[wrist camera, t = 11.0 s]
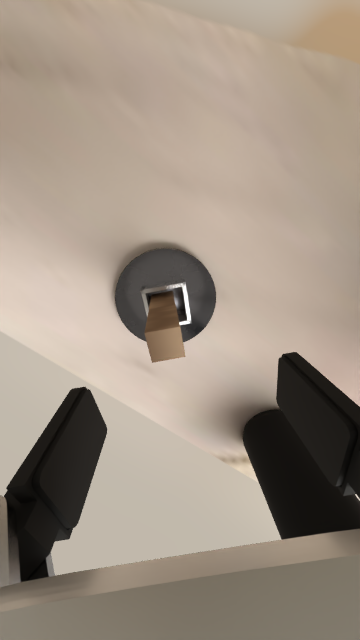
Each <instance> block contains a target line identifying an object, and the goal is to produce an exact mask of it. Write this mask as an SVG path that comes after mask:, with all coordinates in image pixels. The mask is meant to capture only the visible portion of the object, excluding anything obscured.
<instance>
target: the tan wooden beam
mask: <svg viewBox="0 0 360 640" xmlns="http://www.w3.org/2000/svg"><path fill="white" fill-rule="evenodd" d="M145 337H146V341H147V345H148V349H149V353H150V356H151V360H152V363H153V362H158V361H164V360H169V359H175V358H180V357H185V351H184V346H183V340H182V334H181V328H180V323H179V319H178V314H177V309H176V304H175V300H174V295H173V291H168V292H162V293H157V294H152V295H151V300H150V306H149V311H148V316H147V322H146V327H145Z"/></svg>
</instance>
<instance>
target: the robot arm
mask: <svg viewBox="0 0 360 640" xmlns="http://www.w3.org/2000/svg"><path fill="white" fill-rule="evenodd" d="M276 399H277V404H278V406H279V407H280V409H281V410H282V412H283V413H284V415H285V416H286V418H287V419H288V421H289V422H290V424H291V425H292V427H293V428H294V430H295V431H296V433H297V434H298V436H299V437H300V439H301V440H302V442H303V443H304V445H305V446H306V448H307V449H308V451H309V452H310V454H311V455H312V457H313V458H314V460H315V461H316V463H317V464H318V466H319V467H320V469H321V470H322V472H323V473H324V475H325V476H326V478H327V479H328V481H329V482H330V483H331V484H332V485H333V486H337V488H338V489H339V491H340V492H341V494H342V495H343V496H346V495H352V494H357V495H358V497H359V498H360V407H359V406H358V405H357V404H356V403H354V402H353V401H352V400H351V399H350V398H349V397H348V396H346V395H345V394H344V393H343V392H342V391H341V390H339V389H338V388H337V387H336V386H335V385H334V384H333V383H331V382H330V381H329V380H328V379H327V378H326V377H325V376H323V375H322V374H321V373H320V372H319V371H318V370H316V369H315V368H314V367H313V366H312V365H311V364H310V363H308V362H307V361H306V360H305V359H304V358H303V357H301V356H300V355H299V354H298V353H296V352H292V353H286V354H283V355H282V357H281V358H279V362H278V380H277V397H276ZM106 434H107V427H106V424H105V422H104V420H103V418H102V415H101V413H100V411H99V409H98V407H97V404H96V403H95V400H94V398H93V395H92V393H91V391H90V390H89V389H88V390H87V388H86V387H81V388H74V389H72V390H71V391H70V392H69V393H68V395H67V397H66V398H65V399H64V401H63V402H62V404H61V406H60V407H59V409H58V410H57V412H56V413H55V415H54V416H53V418H52V419H51V421H50V422H49V424H48V425H47V427H46V428H45V430H44V431H43V433H42V434H41V436H40V437H39V439H38V440H37V442H36V443H35V445H34V447H33V448H32V450H31V451H30V453H29V454H28V456H27V457H26V459H25V460H24V462H23V464H22V465H21V466H20V468H19V469H18V471H17V472H16V474H15V475H14V477H13V479H12V480H11V482H10V484H9V485H8V486H7V490H8V491H7V492H6V494H5V495H4V497H3V496H0V640H360V529H354V530H346V531H338V532H330V533H323V534H317V535H310V536H303V537H297V538H290V539H283V540H277V541H271V542H263V543H256V544H250V545H243V546H237V547H231V548H224V549H218V550H212V551H205V552H198V553H192V554H185V555H179V556H173V557H167V558H160V559H154V560H148V561H141V562H136V563H129V564H124V565H116V566H111V567H104V568H98V569H92V570H86V571H79V572H73V573H68V574H62V575H57V576H55V574H54V569H53V563H52V558H51V549H52V547H53V544H54V542H55V541H60V540H66V539H69V538H70V535H71V533H72V530H73V528H74V527H75V526H76V525H77V524H78V521H79V519H80V516H81V512H82V509H83V506H84V503H85V500H86V497H87V493H88V491H89V487H90V484H91V481H92V478H93V475H94V472H95V469H96V466H97V462H98V459H99V456H100V453H101V450H102V447H103V444H104V440H105V438H106Z"/></svg>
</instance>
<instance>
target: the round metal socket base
mask: <svg viewBox="0 0 360 640" xmlns="http://www.w3.org/2000/svg"><path fill="white" fill-rule="evenodd" d="M168 291H173V295H174V300H175V304H176V309H177V314H178V319H179V323H180V328H181V334H182V340H183V342H185V341H188V340H190V339H192V338H193V337H195V336H196V335H197V334H199V333H200V332H201V331H202V330H203V329H204V328H205V327H206V325H207V324H208V322H209V321H210V319H211V317H212V315H213V312H214V308H215V303H216V291H215V286H214V282H213V280H212V277H211V275H210V273H209V272H208V270H207V269H206V268H205V266H204V265H203V264H202V263H201V262H200V261H198V260H197V259H196V258H194V257H193V256H191V255H190V254H187V253H185V252H183V251H180V250H177V249H171V248H161V249H154V250H150V251H148V252H145V253H143V254H141V255H140V256H138V257H136V258H135V259H134V260H133V261H131V262H130V263H129V264H128V265H127V267H126V268H125V269H124V271H123V272H122V274H121V276H120V278H119V280H118V283H117V286H116V292H115V301H116V307H117V311H118V314H119V316H120V318H121V320H122V322H123V323H124V325H125V326H126V327H127V329H128V330H129V331H130V332H131V333H133V334H134V335H135V336H137V337H138V338H140V339H142V340H144V341H146V337H145V327H146V322H147V316H148V311H149V306H150V300H151V295H152V294H157V293H162V292H168ZM146 342H147V341H146Z"/></svg>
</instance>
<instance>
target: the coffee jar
mask: <svg viewBox="0 0 360 640" xmlns="http://www.w3.org/2000/svg"><path fill="white" fill-rule="evenodd" d="M243 443H244V446H245V449H246V451H247V454H248V456H249V459H250V461H251V464H252V466H253V469H254V471H255V474H256V476H257V479H258V481H259V484H260V486H261V489H262V491H263V494H264V496H265V498H266V501H267V504H268V506H269V509H270V511H271V513H272V516H273V519H274V521H275V524H276V526H277V529H278V531H279V534H280V536H281V539H282V540H283V539H290V538H297V537H303V536H310V535H317V534H323V533H330V532H338V531H346V530H354V529H360V501H359V500H358V498H357V497H356V496H355V494H352V495H346V496H343V495H342V494H341V492H340V491H339V489H338V488H337V486H333V485H332V484H331V483H330V482H329V481H328V479H327V478H326V476H325V475H324V473H323V472H322V470H321V469H320V467H319V466H318V464H317V463H316V461H315V460H314V458H313V457H312V455H311V454H310V452H309V451H308V449H307V448H306V446H305V445H304V443H303V442H302V440H301V439H300V437H299V436H298V434H297V433H296V431H295V430H294V428H293V427H292V425H291V424H290V422H289V421H288V419H287V418H286V416H285V415H284V413H283V412H282V411H281V410H269V411H265V412H262V413H260V414H258V415H256V416H254V417H253V418H252V419H251V420H250V421H249V422H248V423H247V425H246V426H245V429H244V434H243Z"/></svg>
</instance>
